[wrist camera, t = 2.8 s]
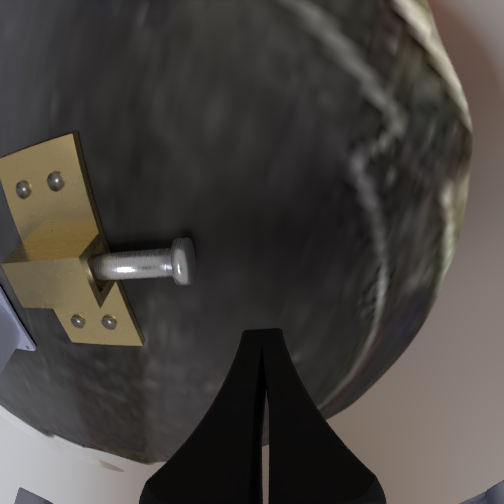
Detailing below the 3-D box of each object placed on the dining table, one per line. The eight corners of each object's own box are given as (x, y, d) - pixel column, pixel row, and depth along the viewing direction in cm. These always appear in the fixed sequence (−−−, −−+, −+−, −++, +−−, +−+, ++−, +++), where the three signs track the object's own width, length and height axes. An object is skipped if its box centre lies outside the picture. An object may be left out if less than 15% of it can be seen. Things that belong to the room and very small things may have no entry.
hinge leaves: (74, 337, 23) (59, 366, 20) (1, 157, 15) (-32, 175, 12) (144, 340, 23) (133, 373, 20) (77, 131, 15) (44, 146, 12)
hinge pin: (79, 274, 19) (62, 297, 17) (66, 241, 18) (47, 263, 16) (197, 267, 19) (190, 294, 17) (189, 229, 18) (180, 253, 15)
